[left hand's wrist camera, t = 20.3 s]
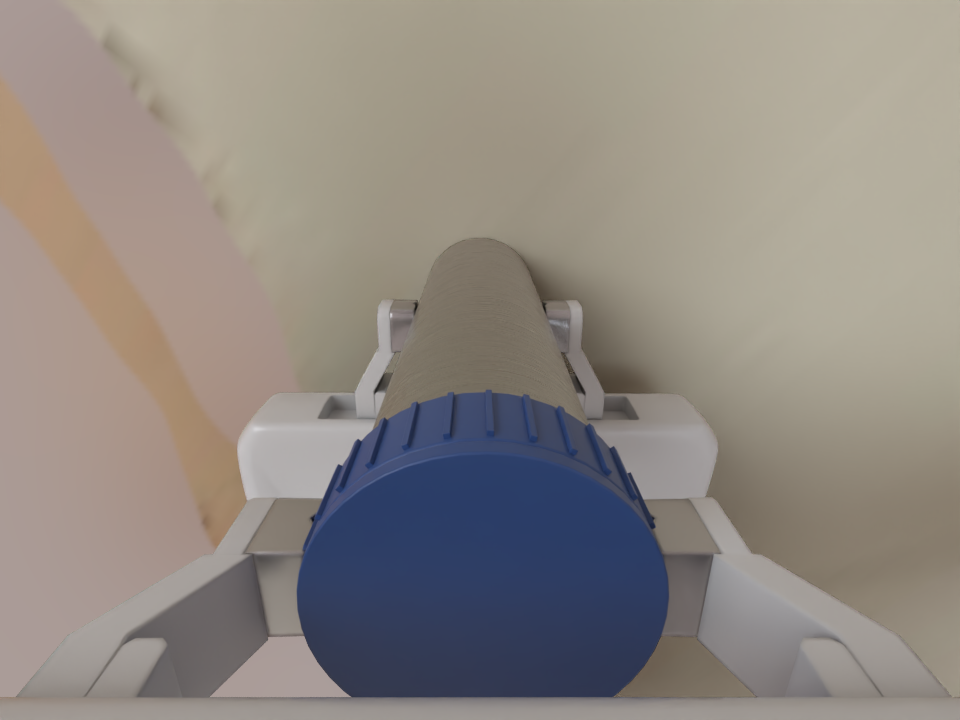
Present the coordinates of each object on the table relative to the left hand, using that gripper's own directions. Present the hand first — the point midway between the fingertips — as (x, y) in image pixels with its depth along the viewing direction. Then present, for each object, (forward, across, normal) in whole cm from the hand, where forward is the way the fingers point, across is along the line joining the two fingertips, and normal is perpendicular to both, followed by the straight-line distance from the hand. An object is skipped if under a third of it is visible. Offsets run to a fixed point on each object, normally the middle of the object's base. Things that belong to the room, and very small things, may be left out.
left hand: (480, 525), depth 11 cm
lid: (-2, 0, 0) cm, 2 cm away
